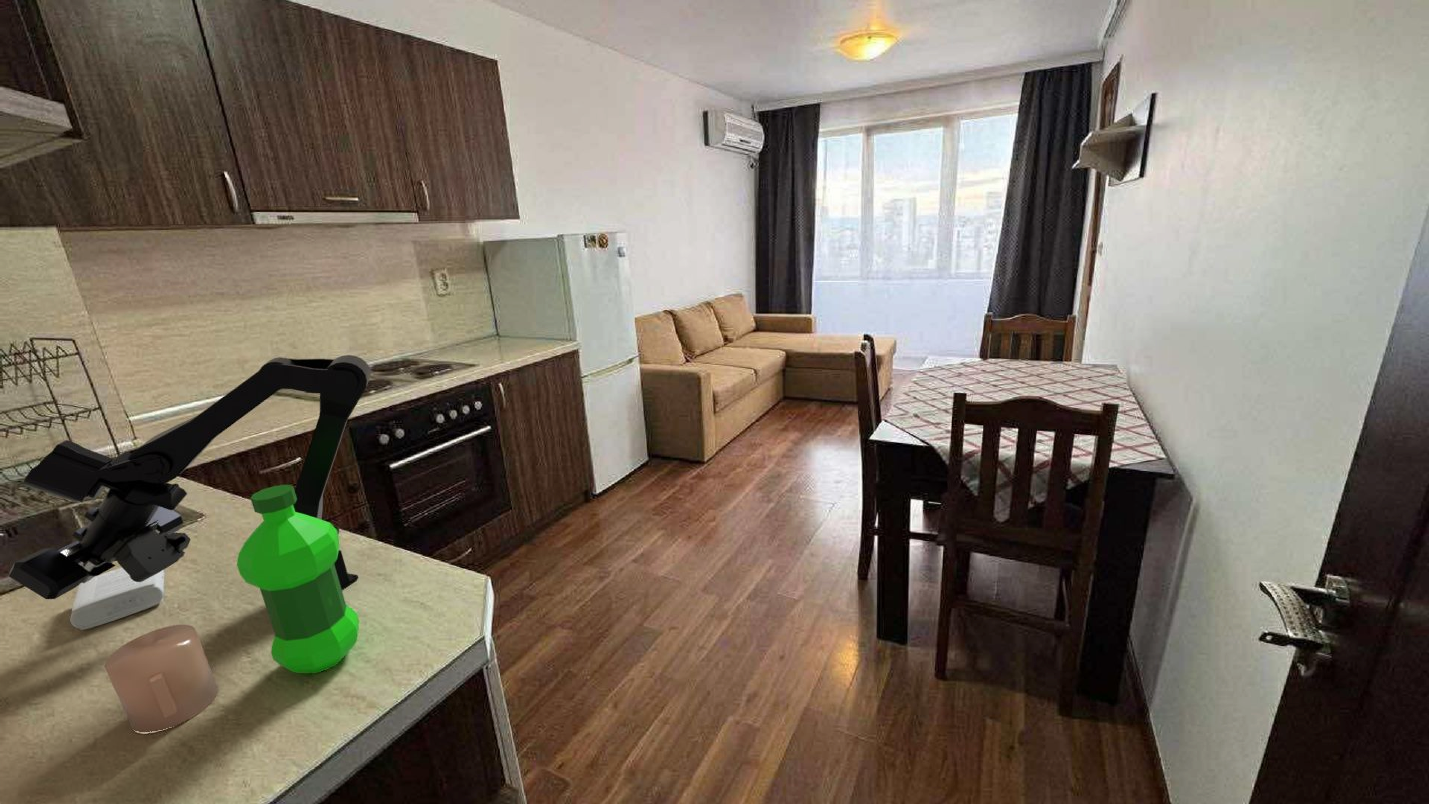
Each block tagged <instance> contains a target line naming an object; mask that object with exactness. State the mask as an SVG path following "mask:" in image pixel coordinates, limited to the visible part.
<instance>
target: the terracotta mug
mask: <svg viewBox="0 0 1429 804" xmlns="http://www.w3.org/2000/svg"><path fill="white" fill-rule="evenodd" d="M103 668H104V670H105V672H106V673H107V676H108V679H109V681H110V682H111V685H112V687H113V689H114V692H115V693H116V696H117V698H118V701H119V702H120V704H121V707H122V709H123V711H124V713H125V715H126V718H127V720H128V722H129V725H130V727H131V728H133V729H134V730H135V731H139V732H150V731H151V732H152V731H158V730H163V729H166V728H169V727H173V726H175V725H178V724H180V723H182V722H184V721H186V720H187V719H190V720H191V719H193V718H194V717H196V716H198V715H199V714H200V713H201V711H202V712H203V711H204V710H206V709H207V708H208V707H209V706H210V705H211V704H212V702H214V700H215V698H216V697H217V695H218V693H219V686H218V685H217V681H216V680H215V676H214V674H213V671H212V669H211V666H210V663H209V661H208V659H207V655H206V653H205V651H204V648H203V645H202V644H201V641H200V638H199V636H198V633H197V630H196V628H195V627H194V626H193V625H190V624H176V625H174V624H173V625H169V626H164V627H162V628H158V629H155V630H152V631H149V632H147V633H145V634H142V635H140V636H138V637H136V638H134V639H131V640H130V641H128V642H127V643H125V644H123V645H122V646H120V647H119V648H117V649H116V650H115V651H114V652H112V653H111V654H110V655H109V656H108V657H107V659H106V660H105V662H104V667H103ZM193 716H194V717H193ZM192 717H193V718H192ZM186 722H187V721H186ZM184 723H185V722H184ZM182 724H183V723H182ZM180 725H181V724H180ZM178 726H179V725H178ZM173 728H174V727H173ZM133 729H132V730H133Z"/></svg>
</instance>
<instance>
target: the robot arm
mask: <svg viewBox="0 0 1429 804" xmlns="http://www.w3.org/2000/svg"><path fill="white" fill-rule="evenodd" d="M371 376H372V371H371V367H370V366H369V365H368V362H367V361H365V360H364V359H362V358H361V357H359V356H357V355H352V354H346V355H341V356H339V357H335V358H334V359H333V358H287V357H281V356H280V357H274V358H272V359H269V361H267V362H266V363H264V364H263V365H262V366H261V367H260V368H259V370H258V371H256V372H255V373H254V374H253V375H251V376H249V377H248V378H247V379H246V380H244V381H242V382H241V383H240V384H239V385H237V386H236V387H235V388H233V389H232V390H230V391H229V392H228V393H226V395H223V396H222V397H221V398H220V399H218V400H217V401H216V402H214V403H212V404H210V406H208V407H207V408H205V410H203V411H202V412H201V413H199V414H197V415H195V416H193V417H192V418H189V419H188V420H185V421H183V422H181V423H178V424H176V425H174V426H172V427H170V428H168V429H166V430H163V431H162V432H160V433H157V434H156V435H154V436H152V437H151V438H150V439H148V440H147V441H145V442H144V443H143V444H141V445H140V446H139V447H136V448H133V449H130V450H128V451H124V452H122V453H120V454H119V455H117V456H115V458H112V457H109V456H108V455H104V454H102V453H99V452H96V451H93V450H92V449H88V448H86V447H84V446H81V445H80V444H79V443H76V442H74V441H71V440H68V439H67V440H63V441H62V442H60V443H58V444H56V445H55V447H54V448H53V449H52V450H51V451H50V452H49V453H48V454H47V455H46V456H45V457H44V458H43V459H42V460H41V461H40V462H39V463H38V464H37V465H36V466H33V467H32V468H31V469H30V470H29V472H28V473H27V475H26V476H25V477H24V480H23V483H22V486H25V487H29V488H31V489H33V490H38V491H40V492H44V493H47V494H49V495H53V496H56V497H58V498H62V499H65V500H68V501H71V502H73V503H84V501H85V500H87V498H89V499H91V500H95V499H96V498H98V497H99V496H101V494H102V493H103V491H105V489H106V488H107V489H108V491H107V493H106V494H105V496H104V498H103V499H102V500H101V502H100V504H99V505H98V506H96V507H94V508H92V509H90V510H88V511H86V513H85V514H84V515H83V517H84V518H85V519H87V520H88V521H89V522H88V524H87V525H85V526H83V527H81V528H78V529H77V530H75V531H74V532H73V534H72V537H73V538H75V539H76V540H75V541H73V542H72V543H69V544H67V545H65V546H63V547H61V548H59V549H56V548H55V547H44V548H42V549H39V550H38V551H35V552H34V553H31V554H29V555H28V556H25V557H23V558H21V559H19V560H17V561H15V562H14V563H13V565H12V567H11V568H10V570H9V573H8V577H9V578H10V579H12V580H14V581H16V582H17V583H19V584H20V585H23V587H25V588H27V589H28V590H30V591H31V592H33V593H35V594H36V595H38V596H40V597H41V598H43V599H45V600H56V599H57V598H59V597H61V596H63V595H65V594H66V593H68V592H70V591H72V590H74V589H75V588H78V586H79V585H80V584H81V583H86V582H87V581H89V580H91V579H92V578H94V577H96V576H99V575H102V574H105V573H106V572H107V571H109V570H111V569H113V568H114V567H116V565H115V564H114V562H116V563H117V564H118V565H119V566H120V568H123V569H124V570H125V571H126V572H127V573H128V574H129V575H130V578H131V579H132V580H133V581H135V582H142V581H144V580H146V579H148V578H150V577H152V576H153V575H155V574H157V573H159V572H161V571H162V570H164V571H165V569H167V568H169V567H170V566H173V564H176V563H177V562H178V561H179V560H180V559H182V558H183V557H184V556H185V554H186V552H185V551H184V550H186V549H187V548H188V547H189V544H190V542H191V538H190V536H189V535H188V534H186V532H178V531H179V530H180V529H181V528H182V527H183V525H184V523H185V521H184V519H183V516H182V514H180V513H179V512H177V511H175V509H176V508H177V507H178V506H179V504H180V503H182V501H183V500H184V499H185V498H186V496H187V495H188V492H187V491H186V490H185V489H184V488H182V487H180V484H178V483H169V482H171V481H173V480H175V479H176V478H177V477H179V476H180V475H181V474H182V473H183V472H184V471H185V470H186V469H187V468H188V467H189V466H190V465H192V463H194V462H195V460H196V459H197V458H198V457H199V456H200V455H201V454H202V453H203V451H205V450H206V449H207V447H208V446H209V445H210V444H211V443H212V442H213V441H214V439H215V438H217V436H219V435H221V434H222V433H223V432H224V431H226V430H227V429H229V428H230V427H231V426H232V425H235V423H236V422H239V420H241V419H242V418H243V417H245V416H246V415H248V414H249V413H250V412H251V411H253V410H254V409H256V408H257V407H258V406H260V405H261V404H263V403H264V402H265V401H266V400H267V399H269V398H271V397H272V396H273V395H275V393H277V392H279V390H281V389H283V390H293V391H300V392H305V393H309V394H319V416H318V419H317V422H316V425H315V428H314V431H313V433H312V437H311V441H310V443H309V447H308V449H307V452H306V456H305V459H304V461H303V465H302V468H301V471H300V474H299V477H298V480H297V484H296V485H295V486H296V487H295V488H294V491H295V494H296V497H297V500H296V503H295V504H293V506H294V509H295V512H297V513H301V514H305V515H308V516H312V517H315V518H318V519H321V520H323V521H325V520H324V519H322V518H323V504H324V503H323V502H324V501H323V500H324V499H323V498H324V497H323V496H324V492H325V489H326V486H327V483H328V480H329V476H330V474H331V471H332V468H333V465H334V463H335V462H334V461H335V459H336V457H337V452H338V450H339V446H340V443H341V441H342V437H343V434H344V431H345V428H346V425H347V423H348V419H349V418H350V416H351V414H352V413H353V411H354V409H355V408H356V406H357V404H358V403H359V401H360V399H361V398H362V396H363V394H364V392H365V391H366V388H367V386H368V385H369V384H368V383H370V380H371ZM331 524H332V525H333V526H334V528H335V529H336V530H337V533H338V536H339V535H340V534H339V533H340V526H338V525H336V524H333V523H331ZM157 531H158V532H159V533H158V532H157ZM78 540H79V541H78ZM345 563H346V562H345V560H344V556H343V553H342V550H341V549H339V552H338V557H337V560H336V561H335V563H334V565H335V569H336V572H337V576H338V579H339V582H340V586H341V589H342V590H344V588H346V587H348V586H349V585H351V584H352V583H354V582H355V581H357V580H359V575H358V574H355V573H349V572H348V570H347V566H346V564H345Z"/></svg>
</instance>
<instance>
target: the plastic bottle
mask: <svg viewBox="0 0 1429 804" xmlns="http://www.w3.org/2000/svg"><path fill="white" fill-rule="evenodd" d="M296 500H297V497H296V494H295V488H294V486H293V485H291V484H279V485H274V486H271V487H267V488H262V489H261V490H259V491H257V492H255V493H252V496H251V497H250V502H251V505H252V507H253V511H254V513H257V514H260V515H261V517H262V520H263V521H262V522H261V523H260V524H259V525H258V526H257V527H256V528H255V529H254V531H253V532H252V533H251V534H250V535H249V537H248V538H247V539H246V540H245V542H244V543H243V545H242V546H241V549H240V551H239V552H238V556H237V560H236V561H237V563H236V566H237V569H238V572H239V575H240V576H241V577H242V579H243V580H244V581H245V583H246V584H249V585H251V586H253V587H256V588H258V589H259V590H260V593H261V596H262V599H263V601H264V604H265V607H266V611H267V614H268V617H269V620H270V622H271V626H272V629H273V631H274V634H275V635H274V637H273V641H272V644H271V651H270V653H271V657H272V659H273V660H274V661H275V662H276V663H277V664H279V666H281V667H283V668H285V669H287V670H288V671H291V672H293V673H297V674H307V675H310V674H309V673H312V674H317V673H318V672H319V673H322V672H321V671H323V670H325V671H327V670H329V669H330V668H329V667H331V668H333V667H335V666H337V665H338V664H339V663H340V662H342V660H343V659H345V657H346V656H347V654H348V653H349V652H350V651H351V649H353V647H354V646H355V644H356V643H357V641H358V635H359V627H360V618H359V615H358V613H357V612H356V611H355V610H354V609H353V608H352V607H351V606H349V605H347V604H346V601H345V598H344V597H345V596H344V593H343V589H341V586H340V582H339V579H338V576H337V572H336V569H335V565H334V563H335V561H336V560H337V557H338V552H339V550H340V538H339V535H338V533H337V530H336V529H335V528H334V526H333V525H334V524H333V523H331V522H329V521H326V520H324V519H322V520H321V519H318V518H315V517H312V516H308V515H305V514H301V513H297V512H295V509H294V506H293V504H295V503H296ZM323 520H324V521H323ZM332 524H333V525H332ZM345 655H346V656H345ZM344 656H345V657H344ZM342 658H343V659H342ZM341 659H342V660H341ZM339 661H340V662H339ZM338 662H339V663H338ZM336 664H337V665H336ZM334 665H335V666H334ZM332 666H333V667H332ZM328 668H329V669H328ZM326 669H327V670H326ZM323 672H324V671H323Z"/></svg>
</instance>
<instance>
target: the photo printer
mask: <svg viewBox="0 0 1429 804" xmlns="http://www.w3.org/2000/svg"><path fill="white" fill-rule="evenodd" d="M164 595H165V569H164V570H162V571H161V572H159V573H157V574H155V575H153V576H152V577H150V578H148V579H146V580H144V581H142V582H135V581H133V580H132V579H131V578H130V575H129V574H128V573H127V572H126V571H125V570H124V569H123V568H122V567H120V568H117V569H113V570H111V571H108V572H107V571H106V572H104V573H102V574H100V575H98V576H95V577H93V578H92V579H91V580H89V581H87V582H86V583H81V584H79V585H78V586H77V589H76V594H75V597H74V600H73V604H72V607H71V614H70V619H69V620H70V623H71V625H72V626H73V627H74V628H75V629H80V630H82V631H83V630H88V629H92V628H95V627H98V626H101V625H104V624H107V623H110V622H113V621H116V620H119V619H122V618H125V617H128V616H131V615H133V614H137V613H139V612H141V611H144V610H148V609H149V608H153V607H154V606H157V605H158V604H160V603H162V602H163V600H164Z"/></svg>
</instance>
